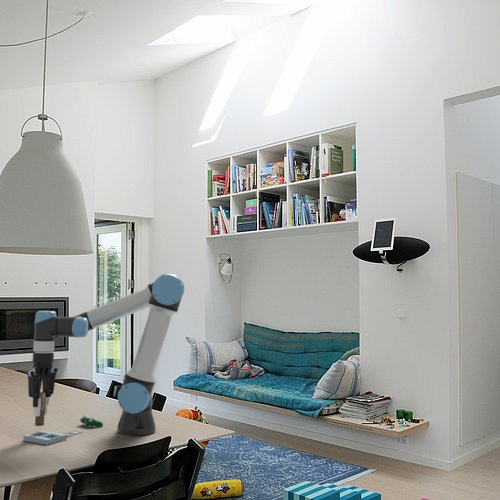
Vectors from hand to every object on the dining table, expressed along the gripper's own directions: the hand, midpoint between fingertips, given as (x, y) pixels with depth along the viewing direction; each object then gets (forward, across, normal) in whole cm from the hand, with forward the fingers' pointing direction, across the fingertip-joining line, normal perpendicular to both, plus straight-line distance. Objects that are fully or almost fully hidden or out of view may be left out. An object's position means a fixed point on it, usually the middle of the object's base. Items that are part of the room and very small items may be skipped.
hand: (40, 414), depth 232 cm
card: (+9, -12, +4) cm, 16 cm away
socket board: (+9, 0, +3) cm, 9 cm away
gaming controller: (+9, -27, +1) cm, 29 cm away
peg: (+4, 0, 0) cm, 4 cm away
